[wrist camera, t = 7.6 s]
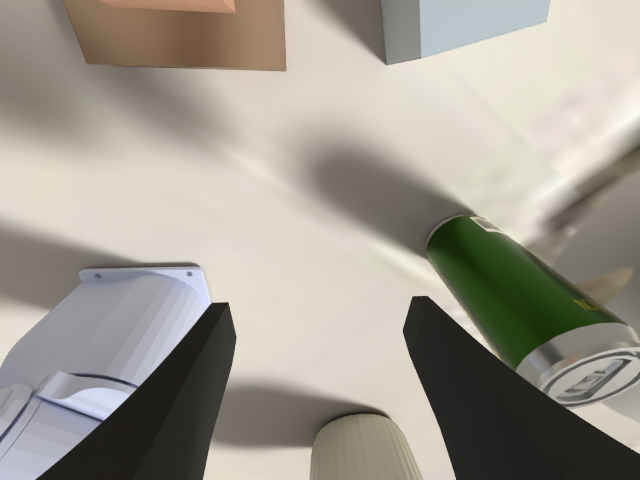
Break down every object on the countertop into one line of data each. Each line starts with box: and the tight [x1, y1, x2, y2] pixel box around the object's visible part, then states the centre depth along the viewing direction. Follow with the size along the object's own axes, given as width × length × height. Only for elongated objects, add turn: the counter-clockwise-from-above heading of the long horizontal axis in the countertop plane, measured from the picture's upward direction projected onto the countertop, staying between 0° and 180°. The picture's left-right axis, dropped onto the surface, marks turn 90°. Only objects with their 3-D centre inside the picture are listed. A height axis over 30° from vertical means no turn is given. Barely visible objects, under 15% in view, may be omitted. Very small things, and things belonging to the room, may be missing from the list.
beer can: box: [426, 215, 640, 409], centre depth 16 cm, size 5×5×12 cm
